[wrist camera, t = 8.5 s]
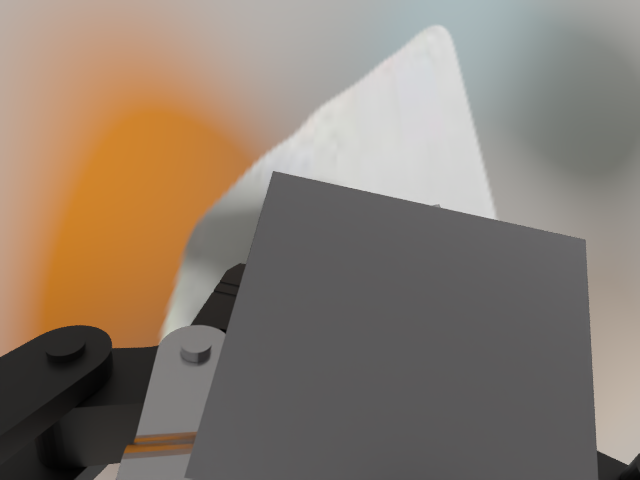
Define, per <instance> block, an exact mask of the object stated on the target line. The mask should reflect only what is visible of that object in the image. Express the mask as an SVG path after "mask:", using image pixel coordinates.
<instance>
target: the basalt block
mask: <svg viewBox="0 0 640 480" xmlns="http://www.w3.org/2000/svg"><path fill="white" fill-rule="evenodd" d="M593 392H594V390H593V372H592V354H591V335H590V317H589V297H588V279H587V260H586V241H585V240H584V239H580V238H575V237H571V236H566V235H562V234H557V233H552V232H548V231H544V230H539V229H534V228H530V227H525V226H521V225H516V224H512V223H507V222H502V221H498V220H494V219H489V218H484V217H480V216H475V215H471V214H466V213H462V212H457V211H453V210H448V209H443V208H439V207H434V206H430V205H425V204H421V203H416V202H412V201H407V200H403V199H398V198H393V197H389V196H384V195H380V194H375V193H371V192H366V191H362V190H357V189H352V188H348V187H343V186H339V185H334V184H330V183H325V182H321V181H316V180H312V179H307V178H302V177H298V176H293V175H289V174H284V173H280V172H275V171H273V173H272V177H271V180H270V184H269V187H268V191H267V194H266V198H265V201H264V204H263V208H262V211H261V215H260V218H259V222H258V225H257V228H256V232H255V235H254V239H253V242H252V246H251V249H250V253H249V256H248V259H247V263H246V266H245V270H244V273H243V277H242V280H241V283H240V287H239V290H238V294H237V297H236V301H235V304H234V308H233V311H232V314H231V318H230V321H229V325H228V328H227V332H226V335H225V338H224V342H223V345H222V349H221V352H220V356H219V359H218V363H217V366H216V369H215V373H214V376H213V380H212V383H211V387H210V390H209V393H208V397H207V400H206V404H205V407H204V411H203V414H202V417H201V421H200V424H199V428H198V431H197V435H196V438H195V442H194V445H193V448H192V452H191V455H190V459H189V462H188V466H187V469H186V472H185V476H184V478H189V479H193V480H598V465H597V446H596V428H595V409H594V393H593Z"/></svg>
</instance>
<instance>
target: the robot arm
mask: <svg viewBox="0 0 640 480" xmlns="http://www.w3.org/2000/svg"><path fill="white" fill-rule="evenodd" d="M245 266H246V264H242V263H240V264H238V265H236V266H234V267H233V268H231V269H229V270H227V271H226V273H225V274H224V276H223V277H222V279H221V280H220V283H218V285H217V286H216V288H215V289H214V292H213V293H212V294H211V295H210V297H209V298H208V300H207V301H206V303H205V304H204V306H203V307H202V309H201V310H200V312H199V313H198V315H197V316H196V318H195V319H194V321H193V322H192V324H191V325H190V326H186V327H183V328H180V329H177V330H175V331H173V332H171V333H170V334H168V335H167V336H166V337H165V338H164V339H163V340H162V341H161V343H160V345H158V346H153V347H144V348H112V342H111V339H110V337H109V335H108V334H107V333H106V332H104V331H103V330H101V329H99V328H96V327H92V326H83V325H79V326H78V325H76V326H67V327H62V328H58V329H55V330H52V331H49V332H46V333H44V334H42V335H40V336H38V337H36V338H34V339H33V340H31V341H29V342H27V343H25V344H24V345H22V346H20V347H18V348H16V349H15V350H13V351H11V352H9V353H7V354H5V355H3V356H2V357H0V480H93V479H94V478H95V477H96V476H97V475H98V474H99V473H100V472H101V471H102V470H103V469H104V468H105V467H106V466H107V465H108V464H114V463H120V467H119V470H118V474H117V477H116V480H193V479H189V478H184V476H185V472H186V469H187V466H188V462H189V459H190V455H191V452H192V448H193V445H194V442H195V438H196V435H197V431H198V428H199V424H200V421H201V417H202V414H203V411H204V407H205V404H206V400H207V397H208V393H209V390H210V387H211V383H212V380H213V376H214V373H215V369H216V366H217V363H218V359H219V356H220V352H221V349H222V345H223V342H224V338H225V335H226V332H227V328H228V325H229V321H230V318H231V314H232V311H233V308H234V304H235V301H236V297H237V294H238V290H239V287H240V283H241V280H242V277H243V273H244V270H245ZM597 465H598V480H640V454H638V455H637V457H636V458H635V459H634V460H633V461H632V462H631V463H630V464H629V465H627V464H624V463H622V462H620V461H618V460H616V459H614V458H611V457H609V456H607V455H605V454H603V453H601V452H599V451H597Z"/></svg>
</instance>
